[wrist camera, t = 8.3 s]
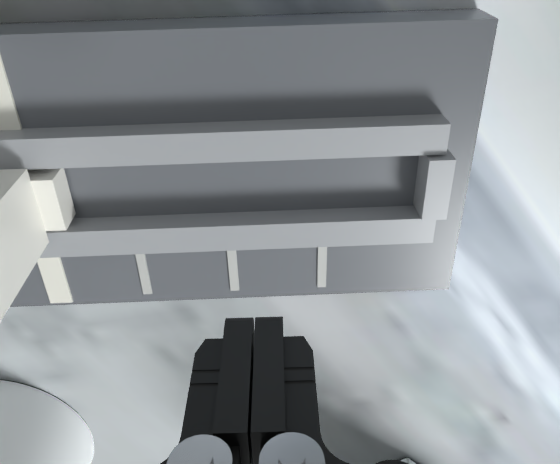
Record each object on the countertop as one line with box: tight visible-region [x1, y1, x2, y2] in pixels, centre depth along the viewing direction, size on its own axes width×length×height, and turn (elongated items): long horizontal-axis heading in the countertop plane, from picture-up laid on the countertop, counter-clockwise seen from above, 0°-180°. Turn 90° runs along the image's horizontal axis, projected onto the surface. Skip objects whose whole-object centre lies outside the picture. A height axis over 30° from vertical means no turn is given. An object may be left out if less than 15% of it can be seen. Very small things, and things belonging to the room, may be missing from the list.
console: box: [0, 9, 498, 307], centre depth 22 cm, size 24×12×3 cm, turn 91°
